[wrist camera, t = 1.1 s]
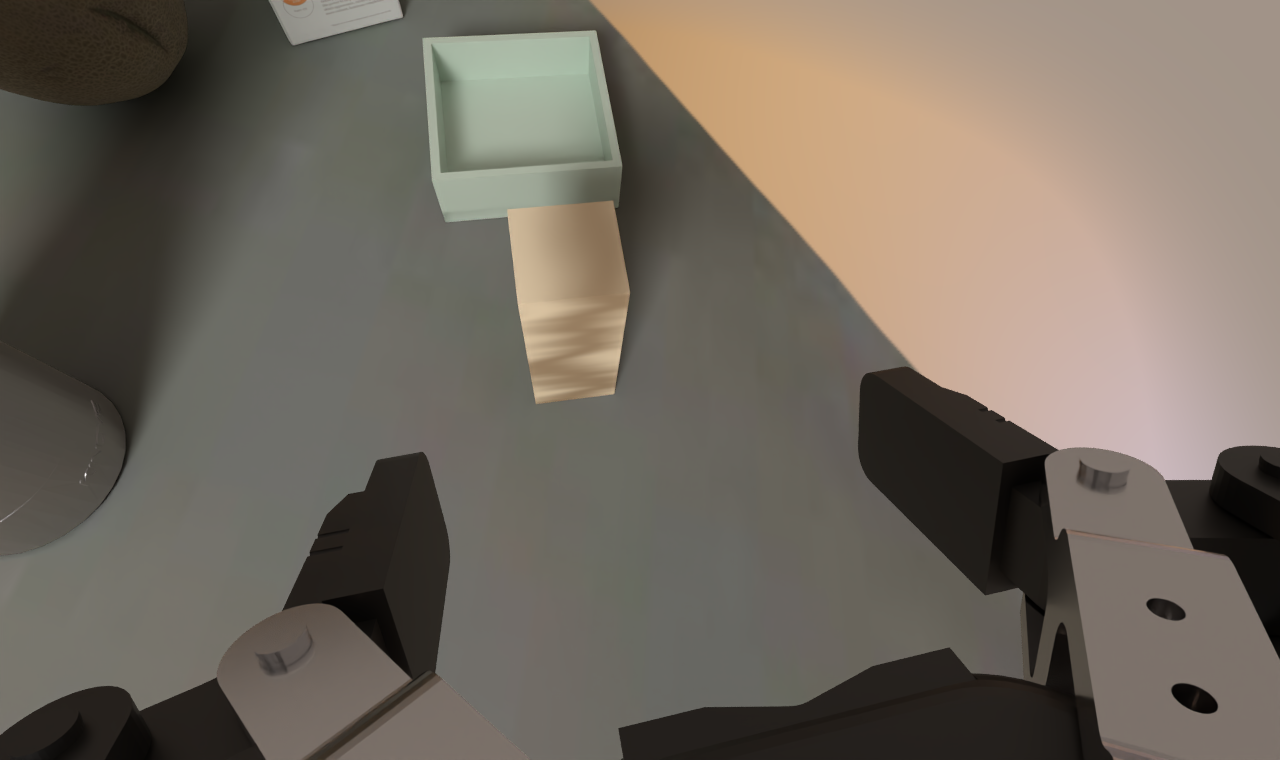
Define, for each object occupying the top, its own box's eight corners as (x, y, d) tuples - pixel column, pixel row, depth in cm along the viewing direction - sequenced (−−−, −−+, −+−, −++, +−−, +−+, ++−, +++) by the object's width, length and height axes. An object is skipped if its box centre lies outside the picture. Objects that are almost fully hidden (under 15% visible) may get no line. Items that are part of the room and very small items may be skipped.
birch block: (536, 404, 36) (517, 304, 25) (527, 332, 38) (507, 209, 27) (614, 393, 37) (630, 292, 26) (602, 324, 39) (612, 200, 27)
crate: (445, 222, 40) (432, 180, 36) (435, 88, 44) (422, 38, 40) (618, 207, 42) (622, 166, 38) (594, 79, 46) (596, 30, 42)
